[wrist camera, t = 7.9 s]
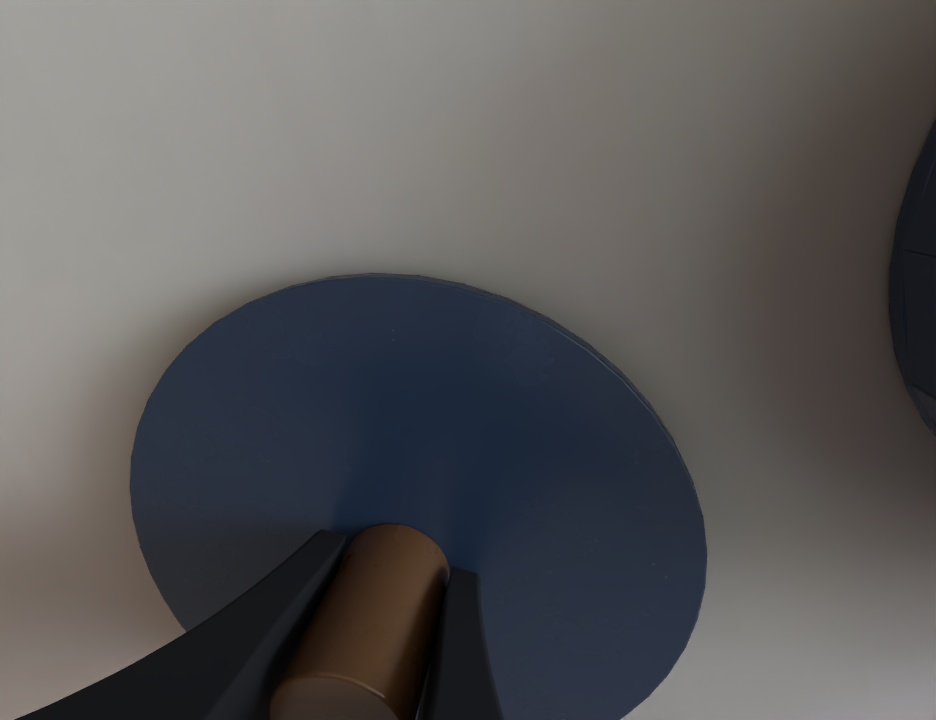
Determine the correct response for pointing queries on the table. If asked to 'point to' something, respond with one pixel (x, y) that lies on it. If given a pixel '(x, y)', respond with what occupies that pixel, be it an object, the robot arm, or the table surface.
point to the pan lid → (424, 495)
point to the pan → (917, 285)
